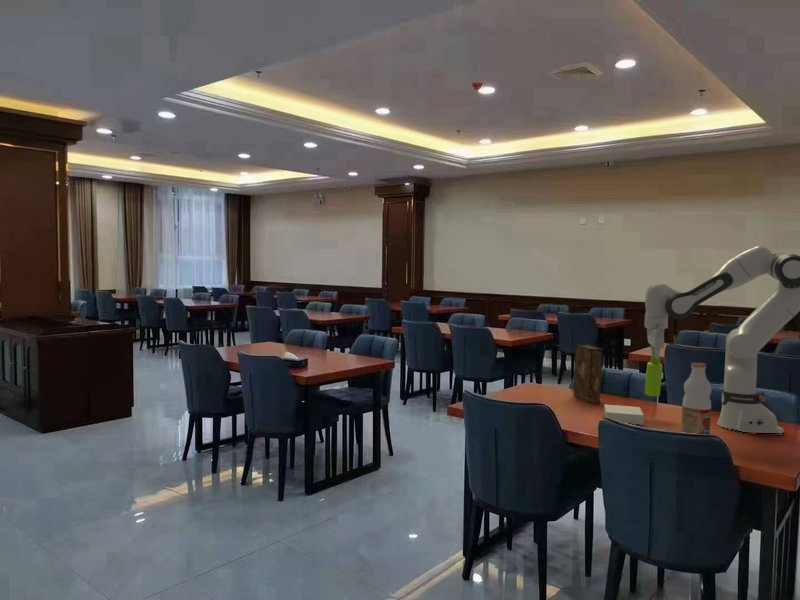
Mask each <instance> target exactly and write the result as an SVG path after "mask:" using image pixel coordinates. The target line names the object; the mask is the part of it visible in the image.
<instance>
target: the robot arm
mask: <svg viewBox="0 0 800 600" xmlns="http://www.w3.org/2000/svg"><path fill="white" fill-rule="evenodd" d="M767 274H768V275H769V276H771V277H772V278H773V279H775V280H777V281H778V285H777V288H776V289H775V290H774V292H773V293H771V294H770V295H769V296H768V297H766V299H765V300H764V301H763V302H762V303H761V304H759V306H758V307H756V308H755V309H754V310H753V311H752V312H751V313H750V314H749V316H748V317H747V318H746V319H745V320H744V321H743V322H742V323H741V324H740V325H739V326H738V327H736V328H734V329H732V330H731V331H730V332H729V333H728V334H727V336H726V338H725V353H724V354H725V361H724V375H723V376H724V377H723V378H724V379H723V389H722V391H721V404H722V405H721V411H720V413H719V414H720V415H719V418H718V419H717V420H718V421H717V424H716V425H717V426H718V427H721V428H723V427H724V429H727V428H728V429H727V430H731V429H734V430H733V431H735V430H738V431H742V432H762V433H783V432H785V431H784V430H785V429H783V428H782V427H781V426H779V425H778V420H777V417H776V415H775V414H774V413H773V412H772V411H771V410H770V409H768V408H767V407H766V406H764V404H762V402H765V401H766V398H765V396H764V395H760V394H759V393H757V391H756V390H757V380H758V379H757V378H758V377H757V376H758V375H757V374H758V370H757V369H758V353H759V352H760V351H761V350H762V348H764V347H765V346H766V345H767V344H768V343H769V342H770V341H771V340H772V338H773V337H774V336H775V335H776V334H777V333H778V332H779V331H780V330H781V329H782V328H783V327H784V326H786V324H788V322H790V321H791V320H792V319H793V318H794V317H796V315H797V314H798V313H799V312H800V255H799V254H795V253H785V252H784V253H772V251H770V250H769V249H768V248H767V247H765V246H763V245H762V246H761V245H757V246H754V247H752V248H749V249H746V250H745V251H742V252H741V253H739V254H736V255H735V256H733V257H731V258H729V259H728V260H726V261H725V262H724V263H723V264H721V265H720V266H719V267H718V268H717V269H716V270H715V272H714V273H713V274H712V275H711V276H710V277H709V278H708V279H707V280H705V281H704V282H702V283H701V284H698V285H697V286H695V287H694V288H692V289H690V290H688V291H686V292H685V291H684V292H681V291H679V290H675V289H673V288H672V287H670V286H669V285H668V284H664V283H662V284H656V285H655V284H654V285H651V286H649V287H648V288H647V289H646V292H645V302H644V306H645V314H644V328H646V334H647V335H646V336H647V343H648V344H649V345H650V346H653V347H654V349H653V348H651V355H653V354H654V358H659V356H660V353H661V352H660V351H661V350H663V349H665V329H668V328H669V317H670V318H672V319H675V320H683V319H686V318H688V317H689V316H691V315H692V313H693V312H694V311H695V309H696V308H697V307H698V306H699V305H701V304H702V303H704V302H705V301H707V300H709V299H711V298H713V297H714V296H716V295H718V294H720V293H723V292H726V291H728V290H729V291H730V290H732V289H736V288H738V287H741V286H744V285H745V284H748V283H749V282H751V281H753V280H755V279H756V278H758V277H760V276H763V275H767ZM738 431H737V432H738ZM742 432H741V433H742Z"/></svg>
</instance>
